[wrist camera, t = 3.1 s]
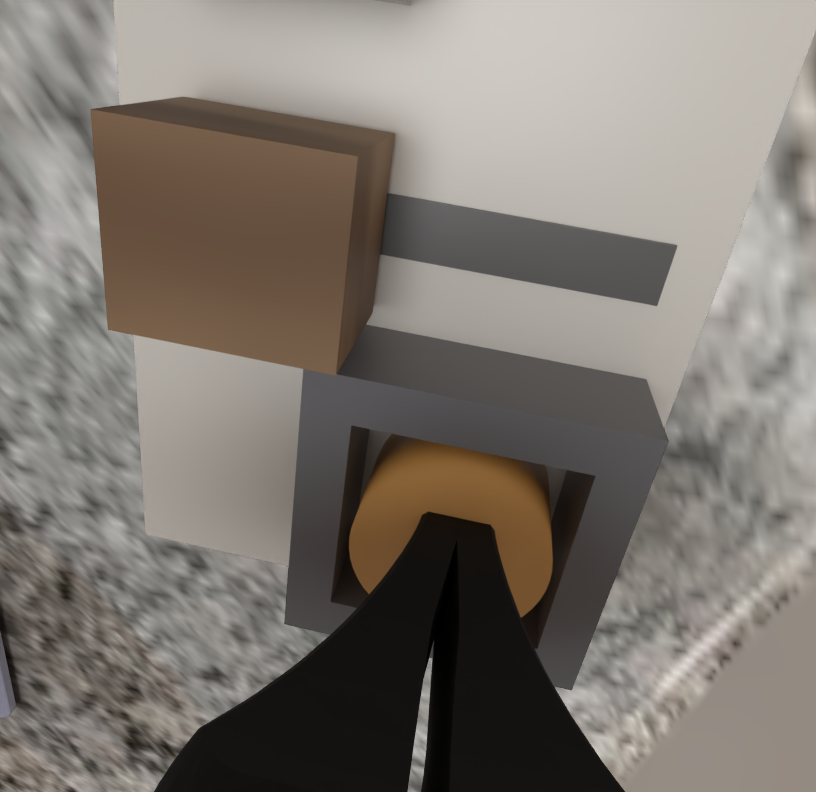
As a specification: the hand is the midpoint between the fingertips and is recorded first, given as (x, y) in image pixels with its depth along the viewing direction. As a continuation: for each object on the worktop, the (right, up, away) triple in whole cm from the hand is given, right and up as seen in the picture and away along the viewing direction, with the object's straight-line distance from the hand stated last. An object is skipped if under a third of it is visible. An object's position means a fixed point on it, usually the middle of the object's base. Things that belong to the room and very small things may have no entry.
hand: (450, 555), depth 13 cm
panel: (-1, +6, +2) cm, 6 cm away
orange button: (0, +1, +2) cm, 2 cm away
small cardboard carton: (-3, +7, 0) cm, 8 cm away
